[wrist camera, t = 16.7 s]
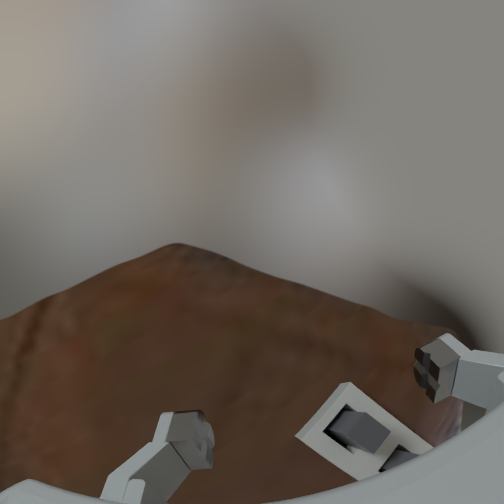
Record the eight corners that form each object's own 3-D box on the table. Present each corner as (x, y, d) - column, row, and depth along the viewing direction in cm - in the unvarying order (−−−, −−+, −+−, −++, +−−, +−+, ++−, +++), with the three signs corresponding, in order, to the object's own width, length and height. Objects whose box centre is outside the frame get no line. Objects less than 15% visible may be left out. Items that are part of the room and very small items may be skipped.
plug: (344, 443, 29) (373, 454, 21) (322, 427, 30) (347, 435, 22) (359, 425, 30) (391, 430, 22) (338, 409, 31) (367, 411, 23)
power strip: (332, 547, 20) (352, 573, 13) (235, 490, 25) (234, 515, 18) (422, 447, 27) (458, 452, 20) (340, 383, 33) (367, 378, 25)
